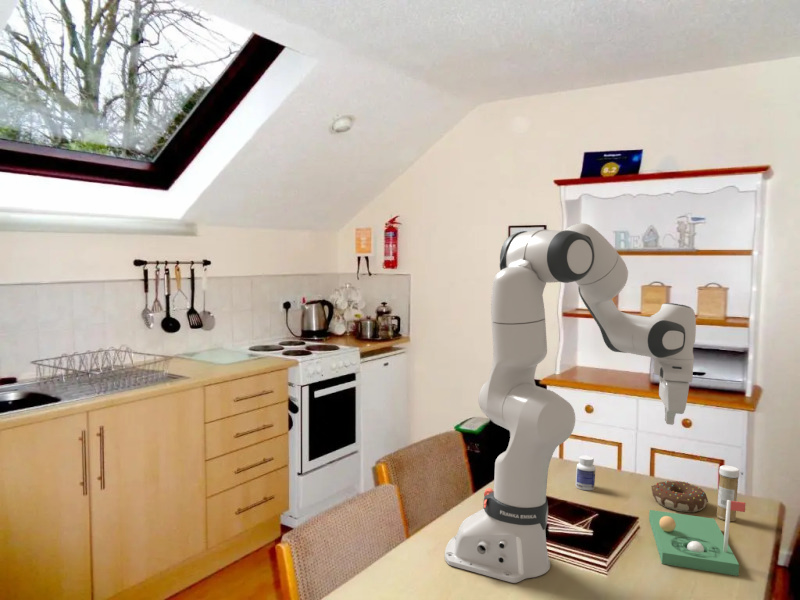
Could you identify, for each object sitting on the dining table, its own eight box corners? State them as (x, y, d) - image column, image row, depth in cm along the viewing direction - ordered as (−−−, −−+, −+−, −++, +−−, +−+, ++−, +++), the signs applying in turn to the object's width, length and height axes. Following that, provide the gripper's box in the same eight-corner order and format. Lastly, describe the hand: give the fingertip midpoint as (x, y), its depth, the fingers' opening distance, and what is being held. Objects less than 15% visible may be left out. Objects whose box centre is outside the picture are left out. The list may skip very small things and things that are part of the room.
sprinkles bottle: (739, 519, 158) (743, 469, 157) (729, 523, 155) (733, 471, 154) (721, 513, 161) (725, 463, 160) (712, 516, 159) (716, 466, 158)
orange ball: (660, 533, 142) (661, 518, 142) (658, 526, 146) (659, 512, 145) (676, 535, 141) (677, 520, 141) (673, 529, 145) (674, 514, 144)
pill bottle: (596, 491, 174) (598, 460, 173) (578, 490, 174) (580, 460, 173) (591, 484, 179) (592, 454, 178) (573, 483, 179) (574, 454, 178)
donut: (713, 505, 167) (714, 487, 167) (697, 519, 157) (698, 501, 157) (660, 490, 177) (661, 473, 176) (641, 503, 167) (643, 485, 166)
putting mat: (661, 563, 133) (666, 501, 132) (649, 519, 156) (652, 465, 155) (747, 577, 128) (752, 512, 127) (721, 529, 151) (725, 474, 150)
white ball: (685, 553, 139) (688, 559, 135) (685, 537, 139) (689, 543, 135) (701, 555, 138) (705, 561, 134) (702, 539, 138) (706, 545, 134)
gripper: (655, 361, 162) (651, 412, 163) (664, 374, 143) (660, 432, 144) (680, 363, 160) (677, 414, 161) (693, 376, 141) (689, 435, 142)
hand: (669, 423), depth 152 cm, fingers closed
